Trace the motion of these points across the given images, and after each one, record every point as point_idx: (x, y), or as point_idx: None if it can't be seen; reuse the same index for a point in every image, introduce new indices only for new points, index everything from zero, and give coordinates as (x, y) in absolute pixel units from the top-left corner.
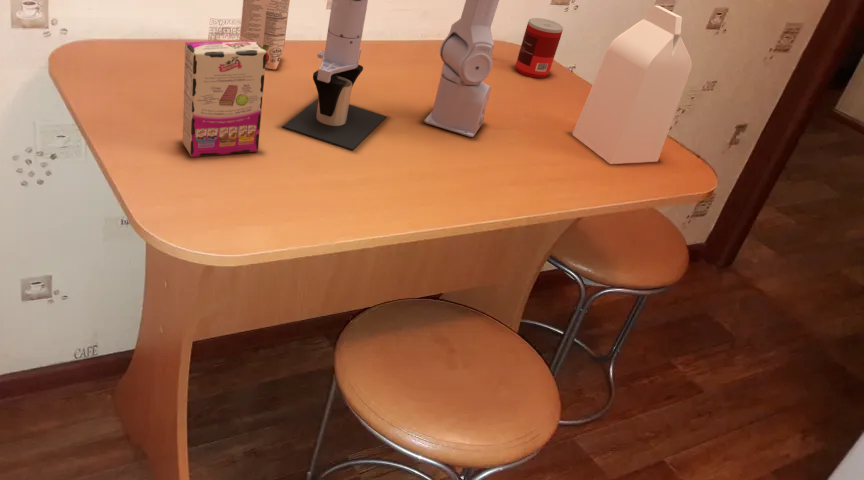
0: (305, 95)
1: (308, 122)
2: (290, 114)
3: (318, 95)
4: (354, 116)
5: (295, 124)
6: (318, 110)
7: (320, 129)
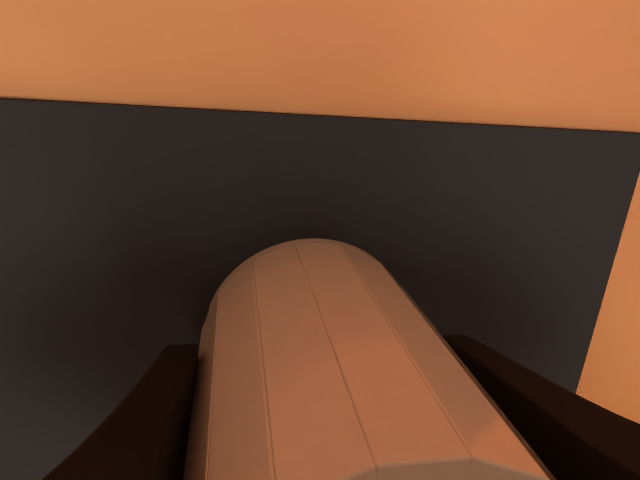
0: (626, 15)
1: (141, 238)
2: (209, 47)
3: (75, 450)
4: None
5: (15, 173)
6: (235, 300)
7: (96, 347)
